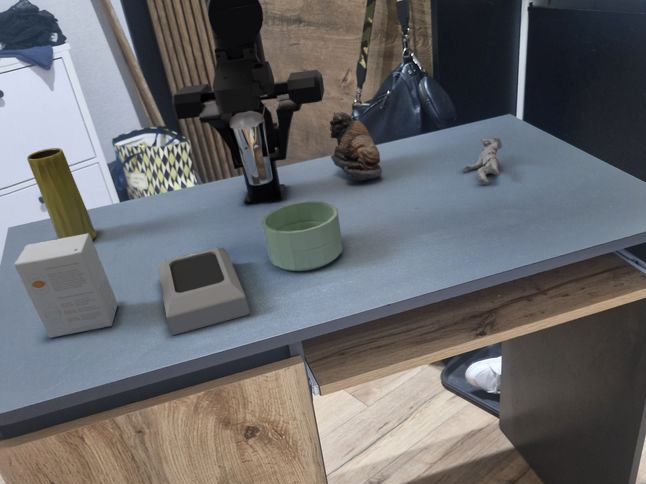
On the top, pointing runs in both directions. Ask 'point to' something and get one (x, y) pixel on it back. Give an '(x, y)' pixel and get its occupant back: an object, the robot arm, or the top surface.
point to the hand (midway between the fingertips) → (262, 161)
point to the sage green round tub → (302, 235)
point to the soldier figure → (487, 160)
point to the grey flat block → (201, 290)
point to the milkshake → (252, 145)
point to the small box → (67, 285)
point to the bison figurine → (354, 148)
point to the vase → (60, 193)
